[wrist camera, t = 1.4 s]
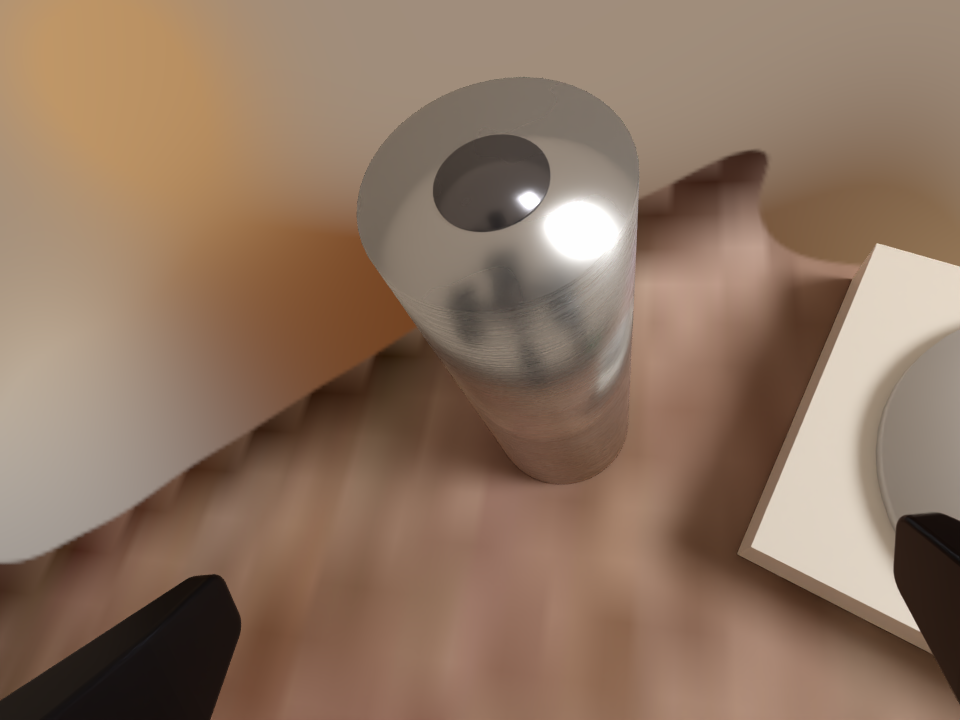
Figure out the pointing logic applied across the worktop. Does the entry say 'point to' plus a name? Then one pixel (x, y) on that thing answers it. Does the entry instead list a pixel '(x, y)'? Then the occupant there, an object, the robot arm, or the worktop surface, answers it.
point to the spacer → (517, 261)
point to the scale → (869, 441)
